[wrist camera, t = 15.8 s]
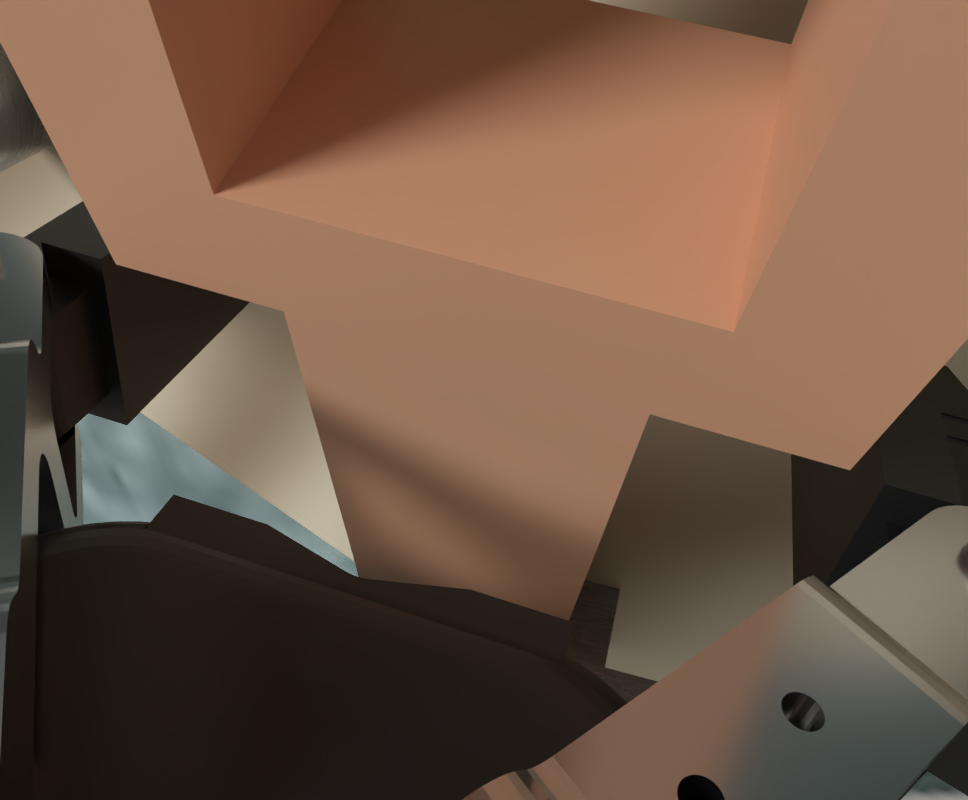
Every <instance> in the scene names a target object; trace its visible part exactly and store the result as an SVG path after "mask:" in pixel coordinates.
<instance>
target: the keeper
mask: <svg viewBox="0 0 968 800" xmlns="http://www.w3.org/2000/svg"><path fill="white" fill-rule="evenodd" d="M619 593H620V589H618V588H614V587H610V586H606V585H602V584H598V583H594V582H590V581H586V580H585V581H584V583H583V586H582V588H581V591H580V594H579V596H578V599H577V601H576V604H575V606H574V609H573V611H572V614H571V616H570V619H569V621H571V622H574V623H573V627H572V631H571V635H570V639H569V644H568V648H567V652H566V655H567V656H569V657H570V658H572V659H574V660H575V661H577V662H579V663H580V664H582V665H583V666H585V667H586V668H588V669H589V670H590V671H592V672H593V673H594V674H596V675H597V676H598V677H600V678H601V679H602V680H604V681H605V682H606V683H607V684H608V685H609V686H610V687H612V688H613V689H614V690H615V691H616V692H617V693H618V694H619V695H620V696H621V697H622V698H623V699H625V700H626V702H627V703H629V702H630V701H631V700H633V699H634V698H636V697H637V696H638V695H640V694H641V693H643V692H644V691H646V690H647V689H648V688H650V687H651V686H653V685H654V684H655V683H657V682H658V681H654V680H650V679H647V678H643V677H639V676H635V675H632V674H628V673H624V672H621V671H617V670H613V669H609V668H606V667H605V664H606V659H607V654H608V649H609V644H610V638H611V633H612V628H613V623H614V618H615V613H616V608H617V603H618V598H619Z"/></svg>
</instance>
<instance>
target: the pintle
mask: <svg viewBox="0 0 968 800" xmlns="http://www.w3.org/2000/svg"><path fill="white" fill-rule="evenodd" d="M52 145H54V144H53V143H52V141H51V139H50V137H49V135H48V133H47V131H46V129H45V127H44V125H43V123H42V121H41V120H40V118H39V116H38V114H37V112H36V110H35V108H34V106H33V104H32V102H31V100H30V98H29V97H28V95H27V93H26V91H25V89H24V87H23V85H22V83H21V81H20V79H19V77H18V75H17V73H16V72H15V70H14V68H13V66H12V64H11V62H10V60H9V58H8V56H7V54H6V52H5V50H4V49H3V47H2V45H1V43H0V172H2V171H4V170H6V169H8V168H10V167H12V166H14V165H16V164H17V163H19V162H21V161H23V160H25V159H27V158H29V157H31V156H33V155H35V154H37V153H39V152H41V151H43V150H45V149H47V148H49V147H51V146H52Z"/></svg>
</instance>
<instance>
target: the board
mask: <svg viewBox="0 0 968 800" xmlns="http://www.w3.org/2000/svg"><path fill="white" fill-rule="evenodd" d="M590 1H594V2H599V3H604V4H608V5H613V6H617V7H622V8H626V9H631V10H636V11H640V12H645V13H649V14H654V15H659V16H663V17H668V18H672V19H677V20H682V21H686V22H691V23H695V24H700V25H704V26H709V27H714V28H718V29H723V30H727V31H732V32H737V33H741V34H746V35H750V36H755V37H759V38H764V39H769V40H773V41H778V42H782V43H787V44H792V41H793V39H794V36H795V33H796V31H797V28H798V26H799V23H800V21H801V18H802V15H803V13H804V10H805V8H806V5H807V3H808V0H590ZM82 201H83V200H82V198H81V196H80V194H79V192H78V190H77V189H76V187H75V185H74V183H73V181H72V179H71V177H70V175H69V173H68V171H67V169H66V167H65V166H64V164H63V162H62V160H61V158H60V156H59V154H58V152H57V150H56V148H55V146H54V145H52V146H51V147H49V148H47V149H45V150H43V151H41V152H39V153H37V154H35V155H33V156H31V157H29V158H27V159H25V160H23V161H21V162H19V163H17V164H16V165H14V166H12V167H10V168H8V169H6V170H4V171H2V172H0V232H4V233H10V234H14V235H17V236H21V237H25V236H27V235H28V234H30V233H32V232H33V231H35V230H36V229H38V228H40V227H41V226H43V225H45V224H46V223H48V222H49V221H51V220H53V219H54V218H56V217H58V216H59V215H61V214H62V213H64V212H66V211H67V210H69V209H71V208H72V207H74V206H75V205H77V204H79V203H80V202H82ZM944 366H947V367H948V368H949V369H950V370H951V371H952V372H953V374H954V375H955V376H956V377H957V378H958V379H959V381H960V382H961V383H962V384H963V385H964V386H965V387H966V389H967V390H968V339H967V340H966V341H965V342H964V343H963V345H962V346H961V347H960V348H959V349H958V350H957V351H956V352H955V354H954V355H953V356H952V357H951V358H950V359H949V360H948V361H947V362H946V364H945V365H944ZM141 413H142V414H144V415H145V416H146V417H148V418H149V419H151V420H152V421H154V422H155V423H156V424H158V425H159V426H161V427H162V428H164V429H165V430H167V431H168V432H169V433H171V434H172V435H174V436H175V437H177V438H178V439H179V440H181V441H182V442H184V443H185V444H187V445H188V446H189V447H191V448H192V449H194V450H195V451H197V452H198V453H200V454H201V455H202V456H204V457H205V458H207V459H208V460H210V461H211V462H212V463H214V464H215V465H217V466H218V467H220V468H221V469H222V470H224V471H225V472H227V473H228V474H230V475H231V476H233V477H234V478H235V479H237V480H238V481H240V482H241V483H243V484H244V485H245V486H247V487H248V488H250V489H251V490H253V491H254V492H255V493H257V494H258V495H260V496H261V497H263V498H264V499H266V500H267V501H268V502H270V503H271V504H273V505H274V506H276V507H277V508H278V509H280V510H281V511H283V512H284V513H286V514H287V515H288V516H290V517H291V518H293V519H294V520H296V521H297V522H299V523H300V524H301V525H303V526H304V527H306V528H307V529H309V530H310V531H311V532H313V533H314V534H316V535H317V536H319V537H320V538H321V539H323V540H324V541H326V542H327V543H329V544H330V545H332V546H333V547H334V548H336V549H337V550H339V551H340V552H342V553H343V554H344V555H346V556H347V557H349V558H350V559H352V560H353V561H354V558H353V554H352V550H351V547H350V543H349V540H348V536H347V533H346V529H345V526H344V522H343V519H342V515H341V512H340V508H339V505H338V501H337V498H336V494H335V490H334V487H333V483H332V480H331V476H330V473H329V469H328V466H327V462H326V459H325V455H324V452H323V448H322V445H321V441H320V438H319V434H318V430H317V427H316V423H315V420H314V416H313V413H312V409H311V406H310V402H309V399H308V395H307V392H306V388H305V385H304V381H303V377H302V374H301V370H300V367H299V363H298V360H297V356H296V353H295V349H294V346H293V342H292V339H291V335H290V332H289V328H288V325H287V321H286V317H285V314H284V311H280V310H277V309H273V308H270V307H266V306H263V305H259V304H255V303H252V302H250V303H249V304H248V305H247V306H246V307H245V308H244V309H243V310H242V311H241V312H240V313H239V314H238V315H237V316H236V317H235V318H234V319H233V320H232V321H231V322H230V323H229V324H228V325H227V326H226V327H225V328H224V329H223V330H222V331H221V332H220V333H219V334H218V335H217V336H216V337H215V338H214V339H213V340H212V341H211V342H210V343H209V344H208V345H207V346H206V347H205V348H204V349H203V350H202V351H201V352H200V353H199V354H198V355H197V356H196V357H195V358H194V359H193V360H192V361H191V362H190V363H189V364H188V365H187V366H186V367H185V368H184V369H183V370H182V371H181V372H180V373H179V374H178V375H177V376H176V377H175V378H174V379H173V380H172V381H171V382H170V383H169V384H168V385H167V386H166V387H165V388H164V389H163V390H162V391H161V392H160V393H159V394H158V395H157V396H156V397H155V398H154V399H153V400H152V401H151V402H150V403H149V404H148V405H147V406H146V407H145V408H144V409H143V410H142V411H141ZM354 562H355V561H354ZM585 580H586V581H590V582H594V583H598V584H602V585H606V586H610V587H614V588H618V589H620V593H619V598H618V603H617V608H616V613H615V618H614V623H613V628H612V633H611V638H610V644H609V649H608V654H607V659H606V664H605V667H606V668H609V669H613V670H617V671H621V672H624V673H628V674H632V675H635V676H639V677H643V678H647V679H650V680H654V681H660V680H661V679H663V678H664V677H665V676H667V675H668V674H670V673H671V672H672V671H674V670H675V669H677V668H678V667H680V666H681V665H682V664H684V663H685V662H687V661H688V660H689V659H691V658H692V657H694V656H695V655H697V654H698V653H699V652H701V651H702V650H704V649H705V648H706V647H708V646H709V645H711V644H712V643H714V642H715V641H716V640H718V639H719V638H721V637H722V636H723V635H725V634H726V633H728V632H729V631H731V630H732V629H733V628H735V627H736V626H738V625H739V624H740V623H742V622H743V621H745V620H746V619H747V618H749V617H750V616H752V615H753V614H755V613H756V612H757V611H759V610H760V609H762V608H763V607H764V606H766V605H767V604H769V603H770V602H772V601H773V600H774V599H776V598H777V597H779V596H780V595H781V594H783V593H784V592H786V591H787V590H789V589H790V588H791V587H793V540H792V475H791V454H790V453H786V452H783V451H779V450H776V449H772V448H769V447H765V446H761V445H758V444H754V443H751V442H747V441H744V440H740V439H736V438H733V437H729V436H726V435H722V434H719V433H715V432H712V431H708V430H704V429H701V428H697V427H694V426H690V425H687V424H683V423H679V422H676V421H672V420H669V419H665V418H662V417H658V416H655V415H651V414H650V415H649V418H648V420H647V423H646V425H645V428H644V430H643V433H642V435H641V438H640V441H639V443H638V446H637V448H636V451H635V453H634V456H633V458H632V461H631V463H630V466H629V469H628V471H627V474H626V476H625V479H624V481H623V484H622V486H621V489H620V492H619V494H618V497H617V499H616V502H615V504H614V507H613V509H612V512H611V514H610V517H609V520H608V522H607V525H606V527H605V530H604V532H603V535H602V537H601V540H600V543H599V545H598V548H597V550H596V553H595V555H594V558H593V560H592V563H591V565H590V568H589V571H588V573H587V576H586V578H585Z"/></svg>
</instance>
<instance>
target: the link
mask: <svg viewBox="0 0 968 800" xmlns="http://www.w3.org/2000/svg"><path fill="white" fill-rule="evenodd" d="M0 43H1V45H2V47H3V49H4V50H5V52H6V54H7V56H8V58H9V60H10V62H11V64H12V66H13V68H14V70H15V72H16V73H17V75H18V77H19V79H20V81H21V83H22V85H23V87H24V89H25V91H26V93H27V95H28V97H29V98H30V100H31V102H32V104H33V106H34V108H35V110H36V112H37V114H38V116H39V118H40V120H41V121H42V123H43V125H44V127H45V129H46V131H47V133H48V135H49V137H50V139H51V141H52V143H53V144H54V146H55V148H56V150H57V152H58V154H59V156H60V158H61V160H62V162H63V164H64V166H65V167H66V169H67V171H68V173H69V175H70V177H71V179H72V181H73V183H74V185H75V187H76V189H77V190H78V192H79V194H80V196H81V198H82V200H83V202H84V204H85V206H86V208H87V210H88V212H89V214H90V215H91V217H92V219H93V221H94V223H95V225H96V227H97V229H98V231H99V233H100V235H101V237H102V238H103V240H104V242H105V244H106V246H107V248H108V250H109V252H110V254H111V256H112V258H113V260H114V261H115V263H116V264H117V265H120V266H124V267H127V268H131V269H134V270H138V271H141V272H145V273H149V274H152V275H156V276H159V277H163V278H166V279H170V280H174V281H177V282H181V283H184V284H188V285H191V286H195V287H198V288H202V289H206V290H209V291H213V292H216V293H220V294H223V295H227V296H231V297H234V298H238V299H241V300H245V301H248V302H252V303H255V304H259V305H263V306H266V307H270V308H273V309H277V310H280V311H284V314H285V317H286V321H287V325H288V328H289V332H290V335H291V339H292V342H293V346H294V349H295V353H296V356H297V360H298V363H299V367H300V370H301V374H302V377H303V381H304V385H305V388H306V392H307V395H308V399H309V402H310V406H311V409H312V413H313V416H314V420H315V423H316V427H317V430H318V434H319V438H320V441H321V445H322V448H323V452H324V455H325V459H326V462H327V466H328V469H329V473H330V476H331V480H332V483H333V487H334V490H335V494H336V498H337V501H338V505H339V508H340V512H341V515H342V519H343V522H344V526H345V529H346V533H347V536H348V540H349V543H350V547H351V550H352V554H353V558H354V561H355V565H356V568H357V572H358V575H359V577H360V578H365V579H372V580H382V581H392V582H402V583H411V584H421V585H431V586H441V587H451V588H460V589H470V590H474V591H477V592H480V593H483V594H486V595H489V596H492V597H496V598H499V599H502V600H505V601H508V602H511V603H514V604H517V605H521V606H524V607H527V608H530V609H533V610H536V611H539V612H542V613H546V614H549V615H552V616H555V617H558V618H561V619H564V620H568V621H569V619H570V616H571V614H572V611H573V609H574V606H575V604H576V601H577V599H578V596H579V594H580V591H581V588H582V586H583V583H584V581H585V578H586V576H587V573H588V571H589V568H590V565H591V563H592V560H593V558H594V555H595V553H596V550H597V548H598V545H599V543H600V540H601V537H602V535H603V532H604V530H605V527H606V525H607V522H608V520H609V517H610V514H611V512H612V509H613V507H614V504H615V502H616V499H617V497H618V494H619V492H620V489H621V486H622V484H623V481H624V479H625V476H626V474H627V471H628V469H629V466H630V463H631V461H632V458H633V456H634V453H635V451H636V448H637V446H638V443H639V441H640V438H641V435H642V433H643V430H644V428H645V425H646V423H647V420H648V418H649V415H650V414H651V415H655V416H658V417H662V418H665V419H669V420H672V421H676V422H679V423H683V424H687V425H690V426H694V427H697V428H701V429H704V430H708V431H712V432H715V433H719V434H722V435H726V436H729V437H733V438H736V439H740V440H744V441H747V442H751V443H754V444H758V445H761V446H765V447H769V448H772V449H776V450H779V451H783V452H786V453H790V454H793V455H797V456H801V457H804V458H808V459H811V460H815V461H818V462H822V463H826V464H829V465H833V466H836V467H840V468H843V469H847V470H851V469H852V468H853V466H854V465H855V464H856V463H857V462H858V461H859V460H860V459H861V458H862V456H863V455H864V454H865V453H866V452H867V451H868V450H869V449H870V447H871V446H872V445H873V444H874V443H875V442H876V441H877V440H878V439H879V437H880V436H881V435H882V434H883V433H884V432H885V431H886V430H887V428H888V427H889V426H890V425H891V424H892V423H893V422H894V421H895V419H896V418H897V417H898V416H899V415H900V414H901V413H902V412H903V411H904V409H905V408H906V407H907V406H908V405H909V404H910V403H911V402H912V400H913V399H914V398H915V397H916V396H917V395H918V394H919V393H920V392H921V390H922V389H923V388H924V387H925V386H926V385H927V384H928V383H929V381H930V380H931V379H932V378H933V377H934V376H935V375H936V374H937V373H938V371H939V370H940V369H941V368H942V367H943V366H944V365H945V364H946V362H947V361H948V360H949V359H950V358H951V357H952V356H953V355H954V354H955V352H956V351H957V350H958V349H959V348H960V347H961V346H962V345H963V343H964V342H965V341H966V340H967V339H968V0H808V3H807V5H806V8H805V10H804V13H803V15H802V18H801V21H800V23H799V26H798V28H797V31H796V33H795V36H794V39H793V41H792V44H787V43H782V42H778V41H773V40H769V39H764V38H759V37H755V36H750V35H746V34H741V33H737V32H732V31H727V30H723V29H718V28H714V27H709V26H704V25H700V24H695V23H691V22H686V21H682V20H677V19H672V18H668V17H663V16H659V15H654V14H649V13H645V12H640V11H636V10H631V9H626V8H622V7H617V6H613V5H608V4H604V3H599V2H594V1H590V0H0Z"/></svg>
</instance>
